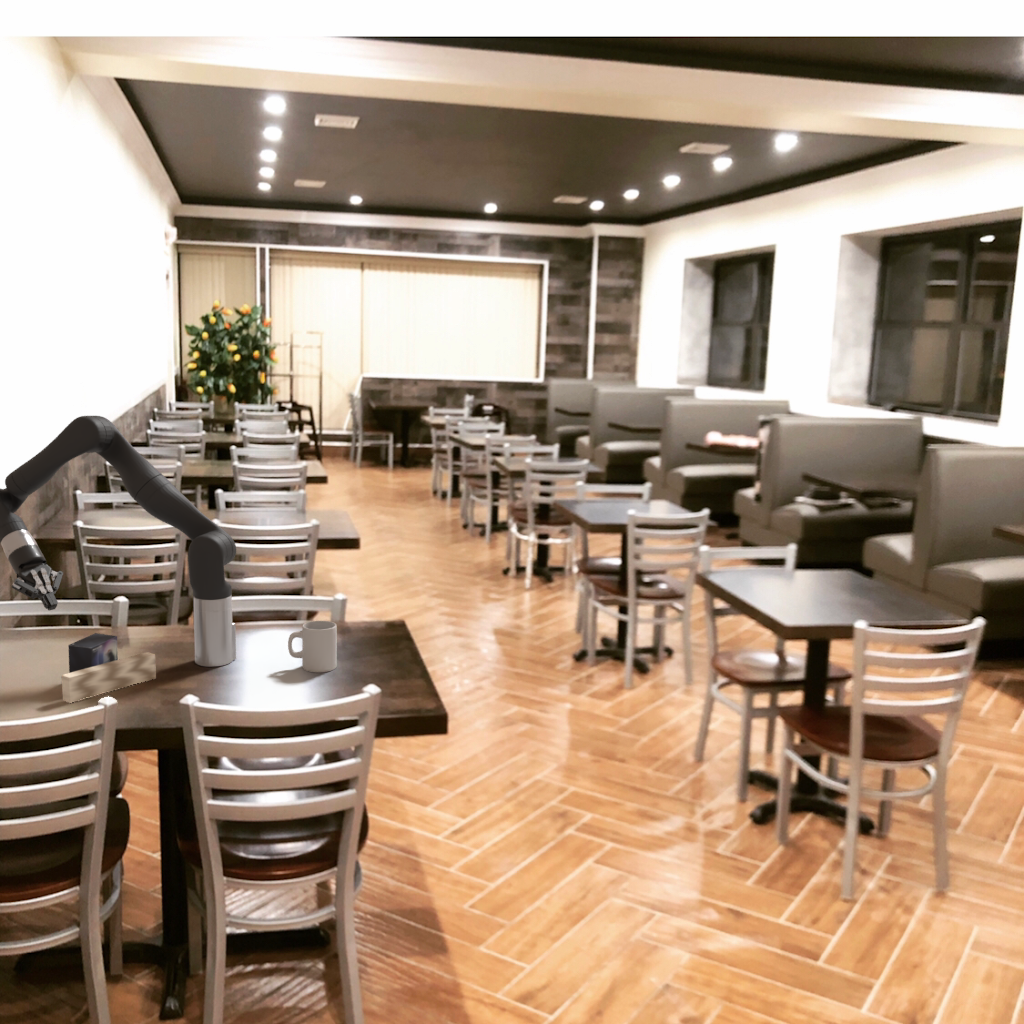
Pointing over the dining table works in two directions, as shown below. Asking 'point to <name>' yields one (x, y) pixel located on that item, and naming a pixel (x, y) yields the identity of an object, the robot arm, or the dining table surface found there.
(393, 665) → the dining table surface
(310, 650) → the mug
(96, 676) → the maple board
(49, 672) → the dining table surface
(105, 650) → the small box
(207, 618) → the robot arm
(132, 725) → the dining table surface
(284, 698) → the dining table surface
